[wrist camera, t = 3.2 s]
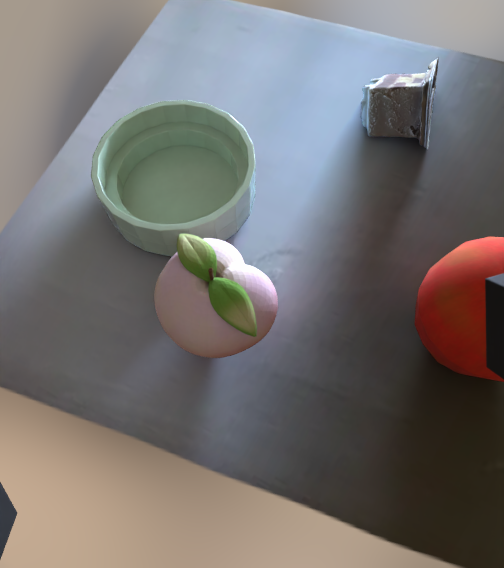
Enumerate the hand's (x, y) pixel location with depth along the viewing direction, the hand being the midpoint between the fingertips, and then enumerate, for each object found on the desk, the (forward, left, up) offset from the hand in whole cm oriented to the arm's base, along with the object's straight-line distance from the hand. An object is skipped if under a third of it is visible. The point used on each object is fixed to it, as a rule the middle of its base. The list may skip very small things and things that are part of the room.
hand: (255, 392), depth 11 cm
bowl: (-12, +21, -24) cm, 35 cm away
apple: (+15, +13, -25) cm, 31 cm away
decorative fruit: (-5, +9, -25) cm, 27 cm away
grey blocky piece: (+7, +37, -25) cm, 45 cm away
